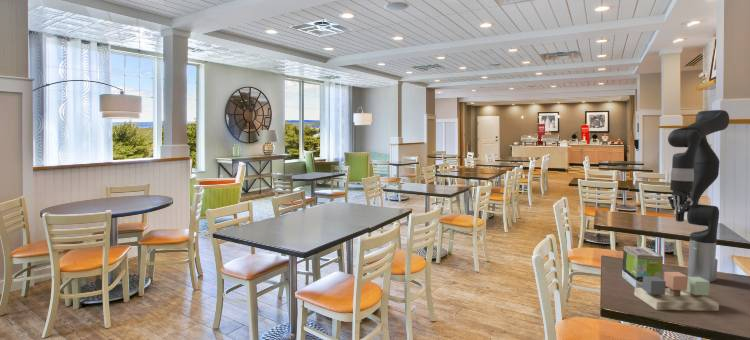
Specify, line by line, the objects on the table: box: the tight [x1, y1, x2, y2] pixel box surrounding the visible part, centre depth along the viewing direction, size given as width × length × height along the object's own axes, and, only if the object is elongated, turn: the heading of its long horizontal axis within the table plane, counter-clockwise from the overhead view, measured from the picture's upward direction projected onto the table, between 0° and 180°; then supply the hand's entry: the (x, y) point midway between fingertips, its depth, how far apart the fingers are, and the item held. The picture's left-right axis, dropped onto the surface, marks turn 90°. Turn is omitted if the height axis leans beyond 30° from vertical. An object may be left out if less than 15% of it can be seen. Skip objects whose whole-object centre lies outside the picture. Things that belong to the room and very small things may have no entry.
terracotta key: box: [663, 271, 688, 290], centre depth 156 cm, size 5×5×5 cm
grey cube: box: [643, 276, 666, 295], centre depth 157 cm, size 5×5×5 cm
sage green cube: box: [686, 277, 711, 296], centre depth 156 cm, size 5×5×5 cm
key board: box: [634, 287, 720, 312], centre depth 157 cm, size 22×14×7 cm, turn 87°
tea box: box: [621, 245, 664, 289], centre depth 176 cm, size 15×10×15 cm, turn 168°
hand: (679, 221), depth 167 cm, fingers closed
